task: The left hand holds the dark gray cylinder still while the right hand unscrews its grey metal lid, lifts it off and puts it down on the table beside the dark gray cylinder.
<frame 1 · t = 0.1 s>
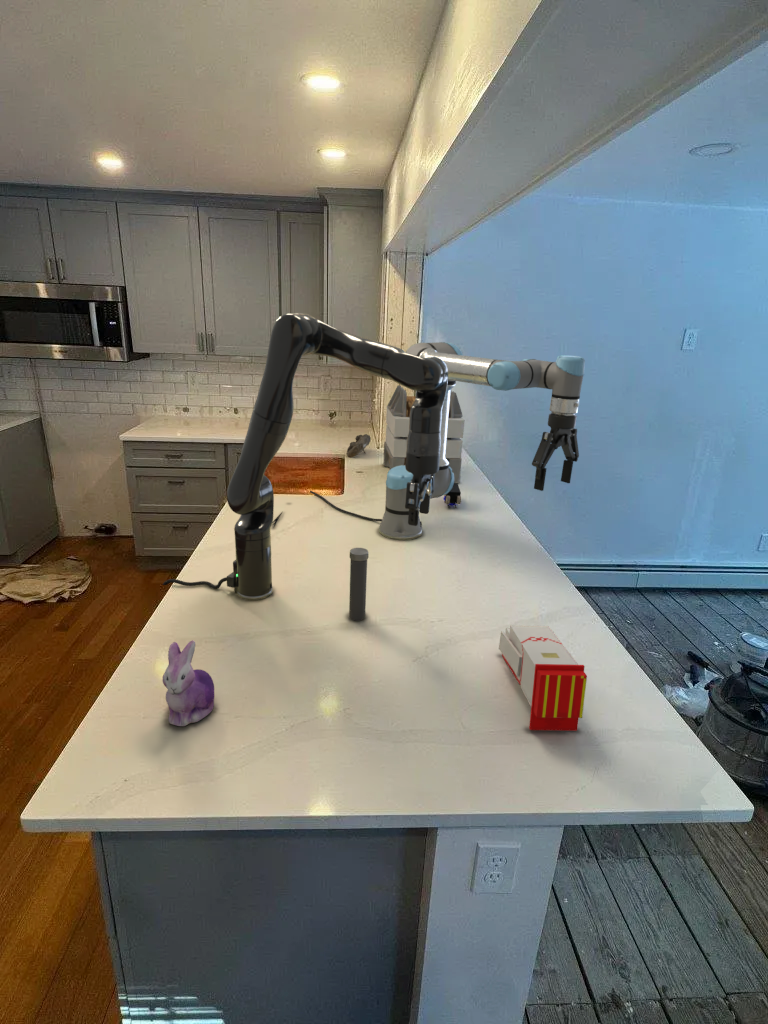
left hand: (418, 518, 131), 29 cm above the counter, tool pointing down, fingers open, 8 cm apart
right hand: (552, 485, 166), 28 cm above the counter, tool pointing down, fingers open, 13 cm apart
lid: (359, 552, 139), point 18 cm above the counter, screwed on, not yet turned
fossil: (358, 453, 307), on the counter
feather: (280, 515, 212), on the counter
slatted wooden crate: (419, 473, 275), on the counter
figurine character: (450, 504, 233), on the counter
figurine: (191, 712, 109), on the counter
toy: (533, 686, 121), on the counter
dark gray cylinder: (357, 616, 145), on the counter
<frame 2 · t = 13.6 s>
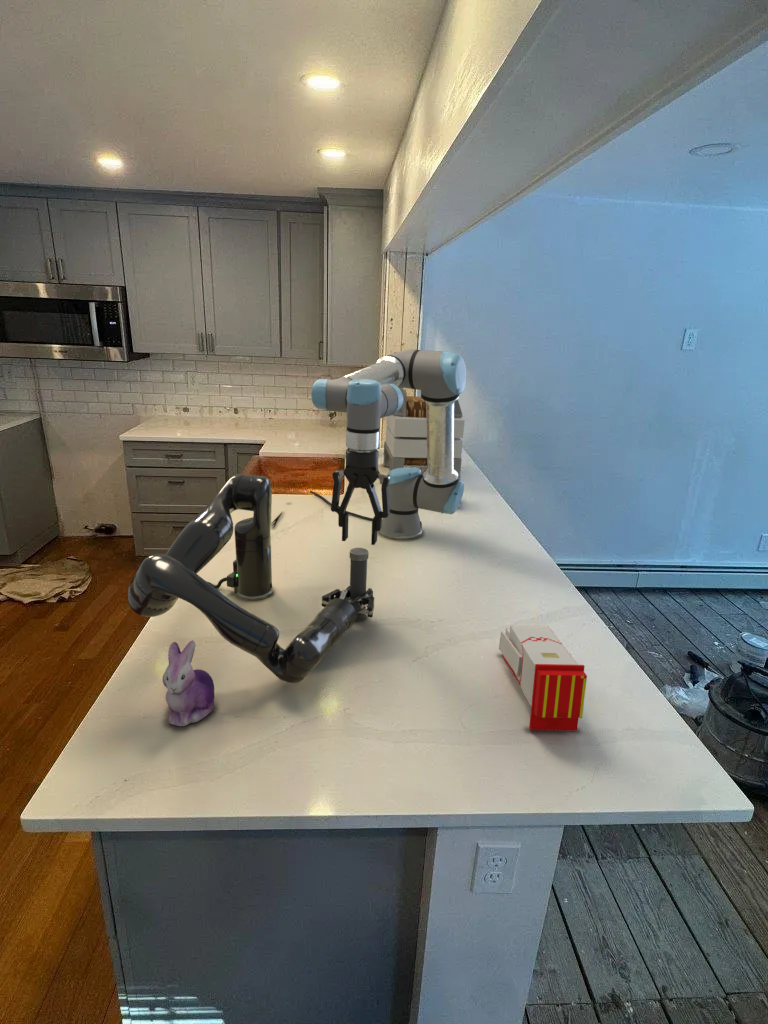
left hand: (362, 589, 146), 6 cm above the counter, tool horizontal, fingers closed on dark gray cylinder, 4 cm apart
right hand: (359, 540, 138), 21 cm above the counter, tool pointing down, fingers open, 7 cm apart
dark gray cylinder: (357, 616, 145), on the counter, touching left hand
everything else where it was.
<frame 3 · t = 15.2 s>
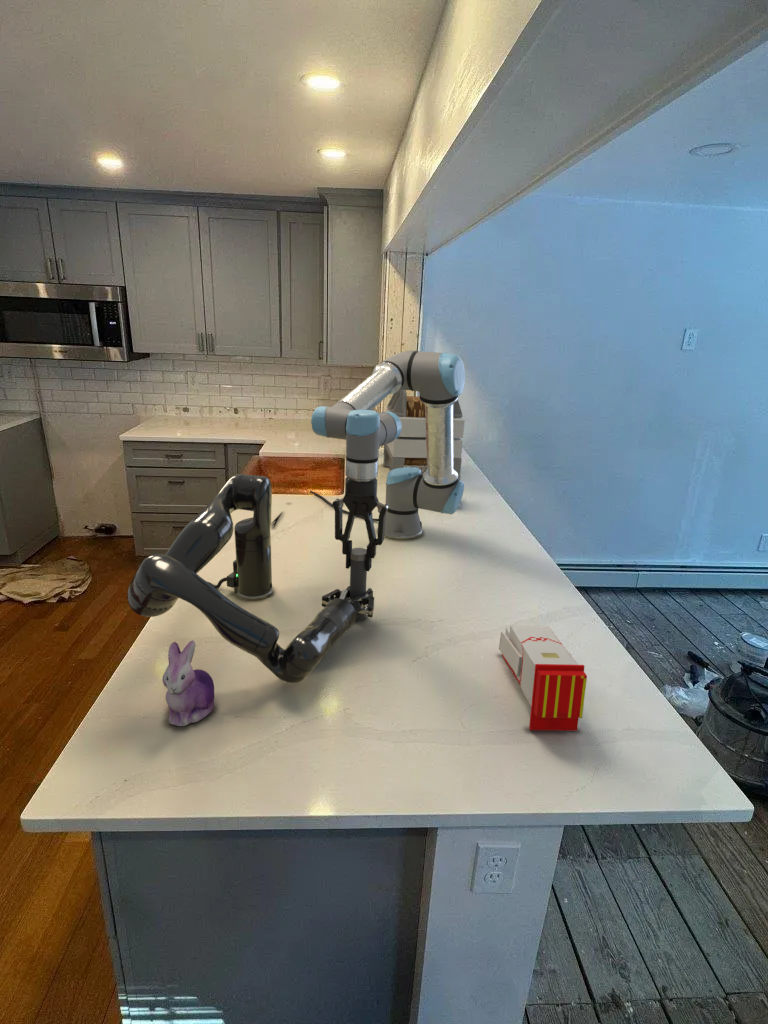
left hand: (362, 589, 146), 6 cm above the counter, tool horizontal, fingers closed on dark gray cylinder, 4 cm apart
right hand: (358, 567, 141), 14 cm above the counter, tool pointing down, fingers closed on lid, 4 cm apart
lid: (359, 552, 139), point 18 cm above the counter, screwed on, not yet turned, touching right hand
dark gray cylinder: (357, 616, 145), on the counter, touching left hand
everything else where it was.
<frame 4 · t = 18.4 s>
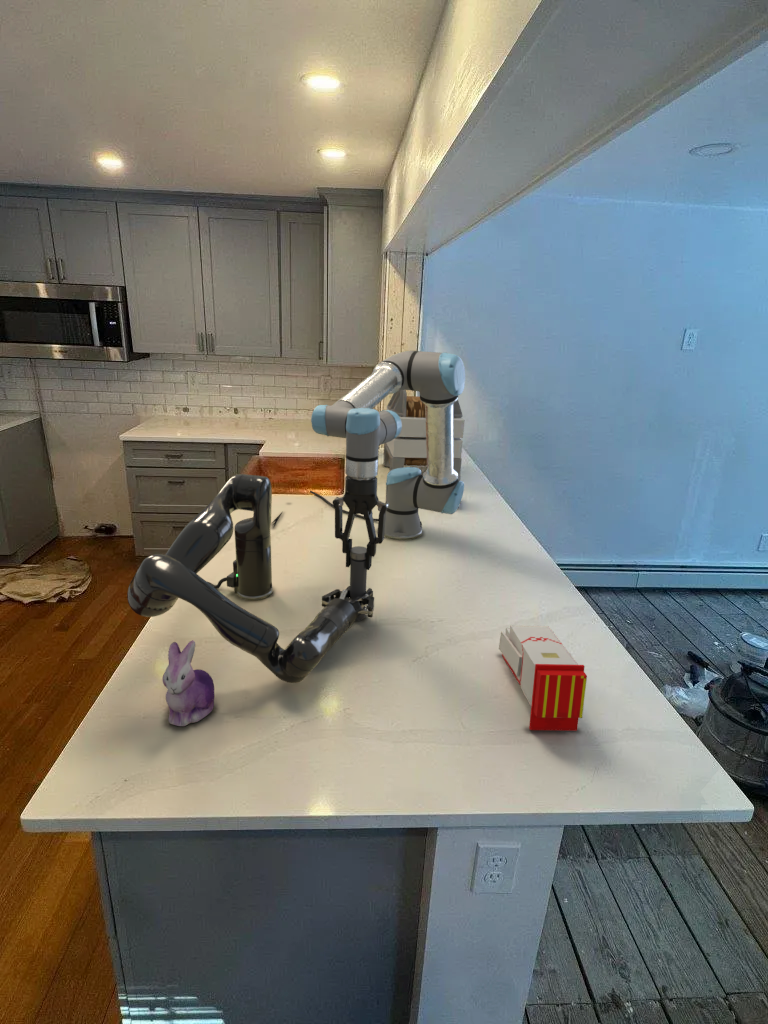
left hand: (362, 589, 146), 6 cm above the counter, tool horizontal, fingers closed on dark gray cylinder, 4 cm apart
right hand: (358, 566, 141), 14 cm above the counter, tool pointing down, fingers closed on lid, 4 cm apart
lid: (359, 551, 139), point 18 cm above the counter, turned 104° so far, risen 0.4 cm, still on its thread, touching right hand
dark gray cylinder: (357, 616, 145), on the counter, touching left hand
everything else where it was.
when the right hand's fingers open (0 cm above the counter, at t = 25.1 s): lid drops 3 cm, point 1 cm above the counter.
when the left hand's fingers open (6 cm above the counter, at t = 25.7 s): dark gray cylinder stays where it is, on the counter.
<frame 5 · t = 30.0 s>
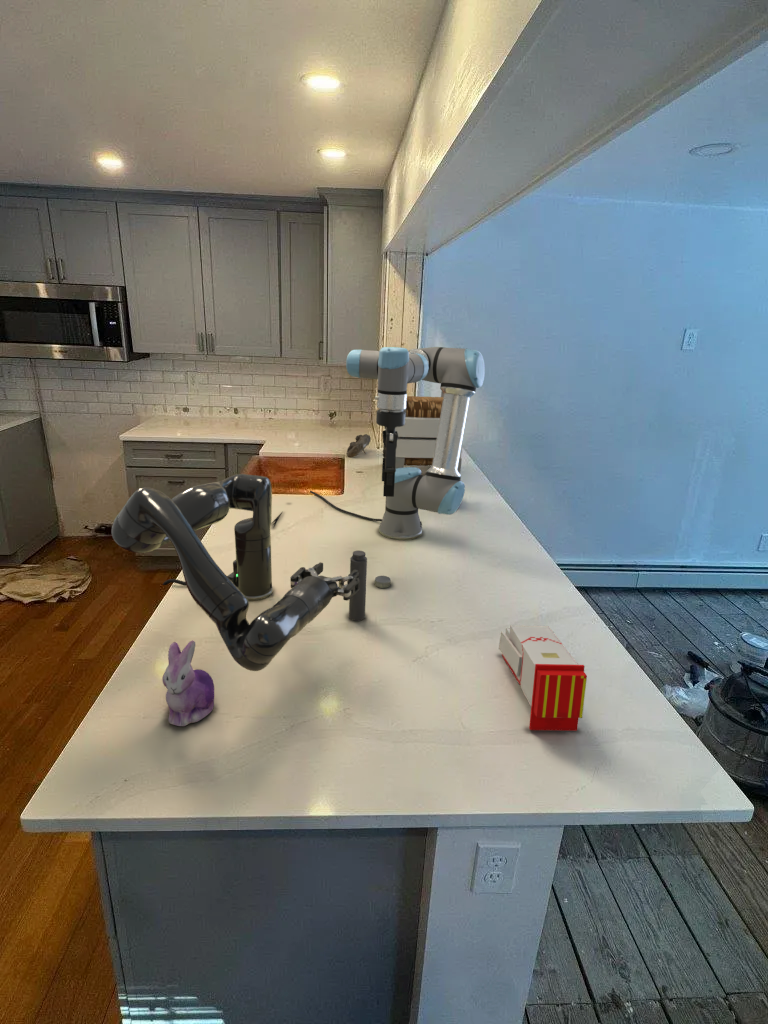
left hand: (338, 569, 129), 18 cm above the counter, tool horizontal, fingers open, 8 cm apart
right hand: (387, 488, 153), 29 cm above the counter, tool pointing down, fingers open, 13 cm apart
lid: (382, 580, 162), point 1 cm above the counter, off its thread
dark gray cylinder: (356, 616, 145), on the counter
everything else where it was.
at the end: lid came off its thread; lid point 1.4 cm above the counter; the left hand is holding nothing; the right hand is holding nothing; dark gray cylinder tilted 0°; dark gray cylinder moved 0.1 cm from its start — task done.
